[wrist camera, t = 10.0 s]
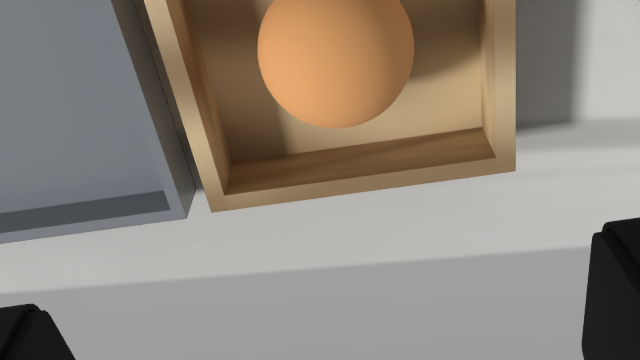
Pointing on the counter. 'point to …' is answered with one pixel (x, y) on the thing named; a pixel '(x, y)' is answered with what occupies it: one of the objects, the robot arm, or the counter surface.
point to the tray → (344, 143)
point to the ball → (335, 58)
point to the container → (83, 122)
